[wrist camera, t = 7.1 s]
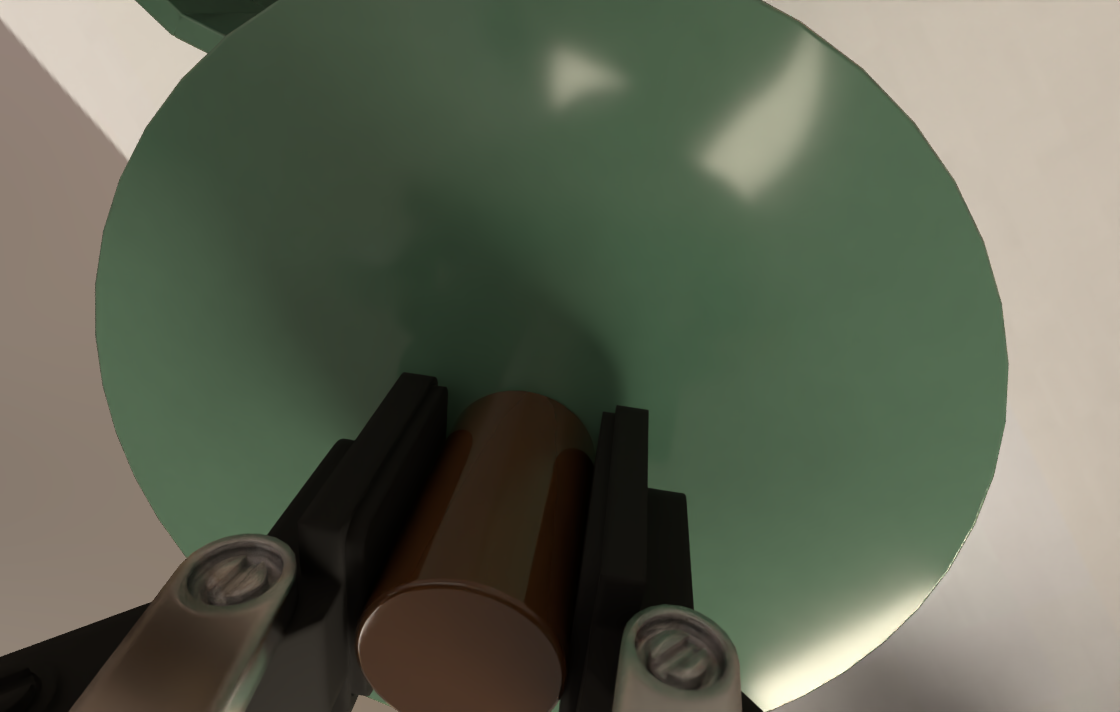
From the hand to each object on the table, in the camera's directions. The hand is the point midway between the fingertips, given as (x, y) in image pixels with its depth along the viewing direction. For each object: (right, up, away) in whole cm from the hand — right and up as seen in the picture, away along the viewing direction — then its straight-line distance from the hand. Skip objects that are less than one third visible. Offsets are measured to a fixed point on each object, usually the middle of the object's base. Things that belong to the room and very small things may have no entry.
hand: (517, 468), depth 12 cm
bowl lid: (0, 0, +1) cm, 1 cm away
